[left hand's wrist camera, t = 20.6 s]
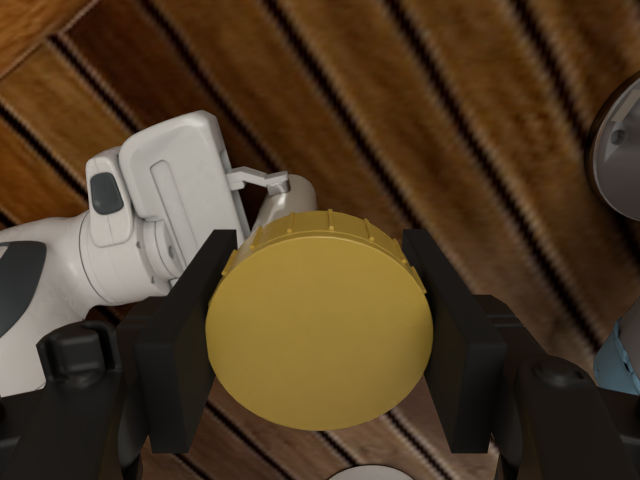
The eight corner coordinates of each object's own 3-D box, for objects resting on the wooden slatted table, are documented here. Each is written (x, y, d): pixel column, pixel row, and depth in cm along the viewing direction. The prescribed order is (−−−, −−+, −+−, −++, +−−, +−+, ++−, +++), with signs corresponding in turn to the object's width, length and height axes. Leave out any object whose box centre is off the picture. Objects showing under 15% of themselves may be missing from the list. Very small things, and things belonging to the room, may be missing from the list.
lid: (293, 164, 11) (287, 182, 9) (459, 283, 12) (486, 321, 10) (183, 321, 12) (159, 364, 10) (340, 411, 14) (343, 464, 12)
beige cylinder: (319, 219, 42) (325, 319, 25) (271, 225, 43) (242, 330, 25) (312, 170, 41) (313, 241, 23) (261, 178, 41) (224, 254, 23)
